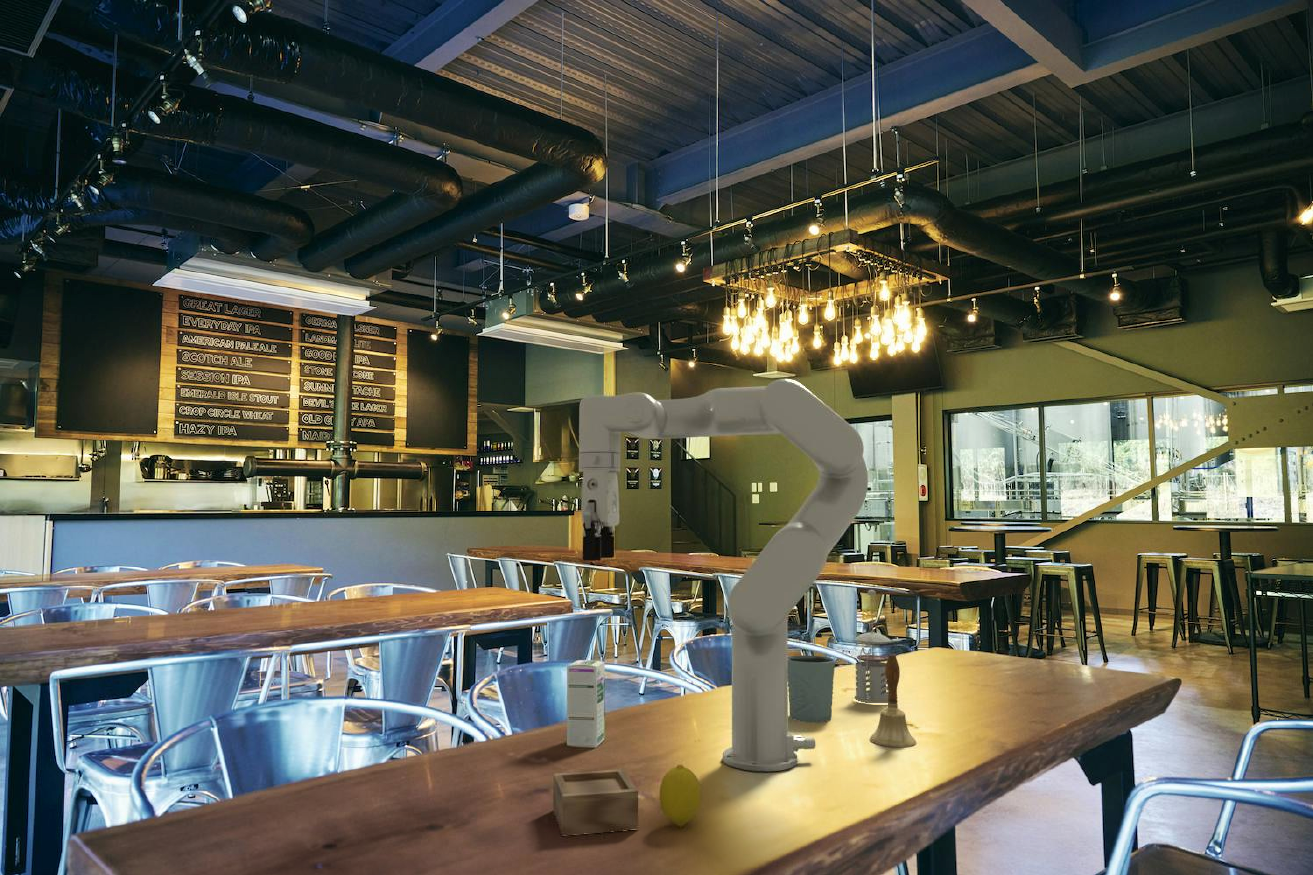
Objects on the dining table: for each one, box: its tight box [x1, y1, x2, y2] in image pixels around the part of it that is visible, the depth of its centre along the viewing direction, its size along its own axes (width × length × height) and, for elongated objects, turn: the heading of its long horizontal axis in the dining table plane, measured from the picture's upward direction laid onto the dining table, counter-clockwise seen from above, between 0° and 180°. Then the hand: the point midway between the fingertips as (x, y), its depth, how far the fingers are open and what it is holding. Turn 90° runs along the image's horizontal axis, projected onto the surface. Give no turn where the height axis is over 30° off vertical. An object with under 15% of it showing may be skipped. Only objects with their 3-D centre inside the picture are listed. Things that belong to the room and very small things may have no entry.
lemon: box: [659, 764, 702, 827], centre depth 112 cm, size 6×6×8 cm
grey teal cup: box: [787, 654, 836, 723], centre depth 174 cm, size 10×10×12 cm
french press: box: [854, 589, 891, 703], centre depth 190 cm, size 10×12×25 cm
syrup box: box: [566, 659, 606, 749], centre depth 153 cm, size 6×6×14 cm
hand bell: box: [869, 653, 917, 748], centre depth 156 cm, size 8×8×16 cm
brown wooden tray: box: [552, 768, 639, 836], centre depth 114 cm, size 10×10×5 cm
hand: (598, 559), depth 150 cm, fingers open, 9 cm apart
